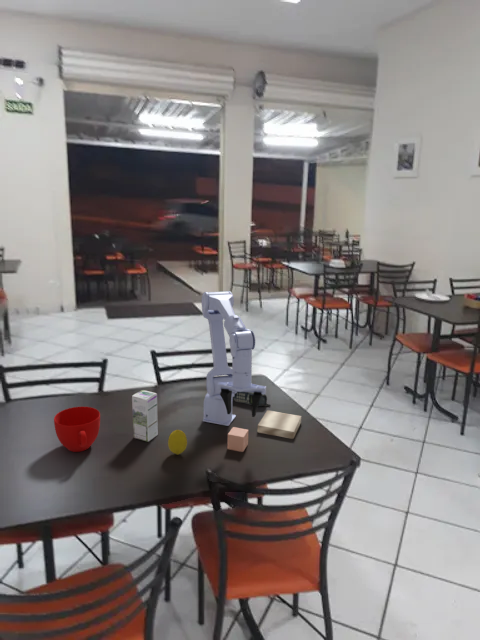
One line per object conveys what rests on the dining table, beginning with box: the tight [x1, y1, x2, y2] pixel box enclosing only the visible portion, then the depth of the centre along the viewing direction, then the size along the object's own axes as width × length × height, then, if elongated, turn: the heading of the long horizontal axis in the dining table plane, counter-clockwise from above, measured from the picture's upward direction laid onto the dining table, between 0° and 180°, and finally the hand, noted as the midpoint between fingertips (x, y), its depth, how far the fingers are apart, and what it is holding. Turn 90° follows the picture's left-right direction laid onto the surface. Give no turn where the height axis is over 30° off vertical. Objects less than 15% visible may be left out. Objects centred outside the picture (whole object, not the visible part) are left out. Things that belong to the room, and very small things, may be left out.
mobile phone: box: [233, 391, 271, 407], centre depth 176 cm, size 5×3×15 cm
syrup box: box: [131, 389, 159, 443], centre depth 148 cm, size 6×6×14 cm
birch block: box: [257, 409, 302, 440], centre depth 159 cm, size 12×12×3 cm
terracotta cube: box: [226, 426, 249, 453], centre depth 145 cm, size 5×5×5 cm
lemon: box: [167, 429, 188, 455], centre depth 139 cm, size 6×6×8 cm
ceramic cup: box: [53, 406, 101, 453], centre depth 140 cm, size 13×17×10 cm
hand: (241, 414), depth 143 cm, fingers open, 7 cm apart
